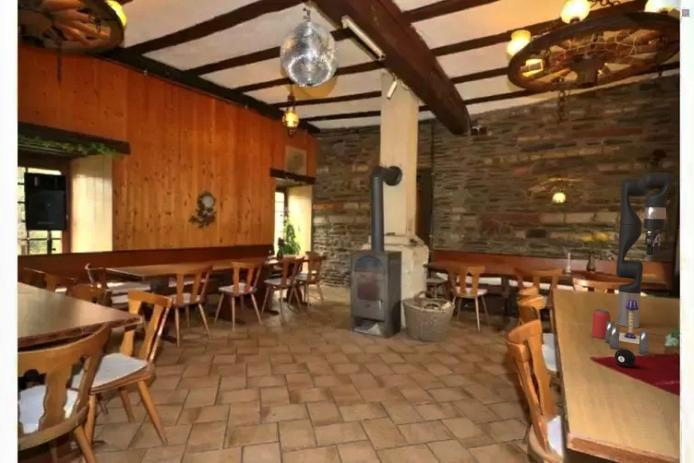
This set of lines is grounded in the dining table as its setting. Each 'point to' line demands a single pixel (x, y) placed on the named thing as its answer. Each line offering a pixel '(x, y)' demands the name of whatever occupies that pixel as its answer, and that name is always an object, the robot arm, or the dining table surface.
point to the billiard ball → (625, 357)
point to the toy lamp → (631, 317)
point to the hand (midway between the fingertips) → (652, 254)
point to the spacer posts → (613, 338)
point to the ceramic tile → (622, 338)
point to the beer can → (600, 323)
